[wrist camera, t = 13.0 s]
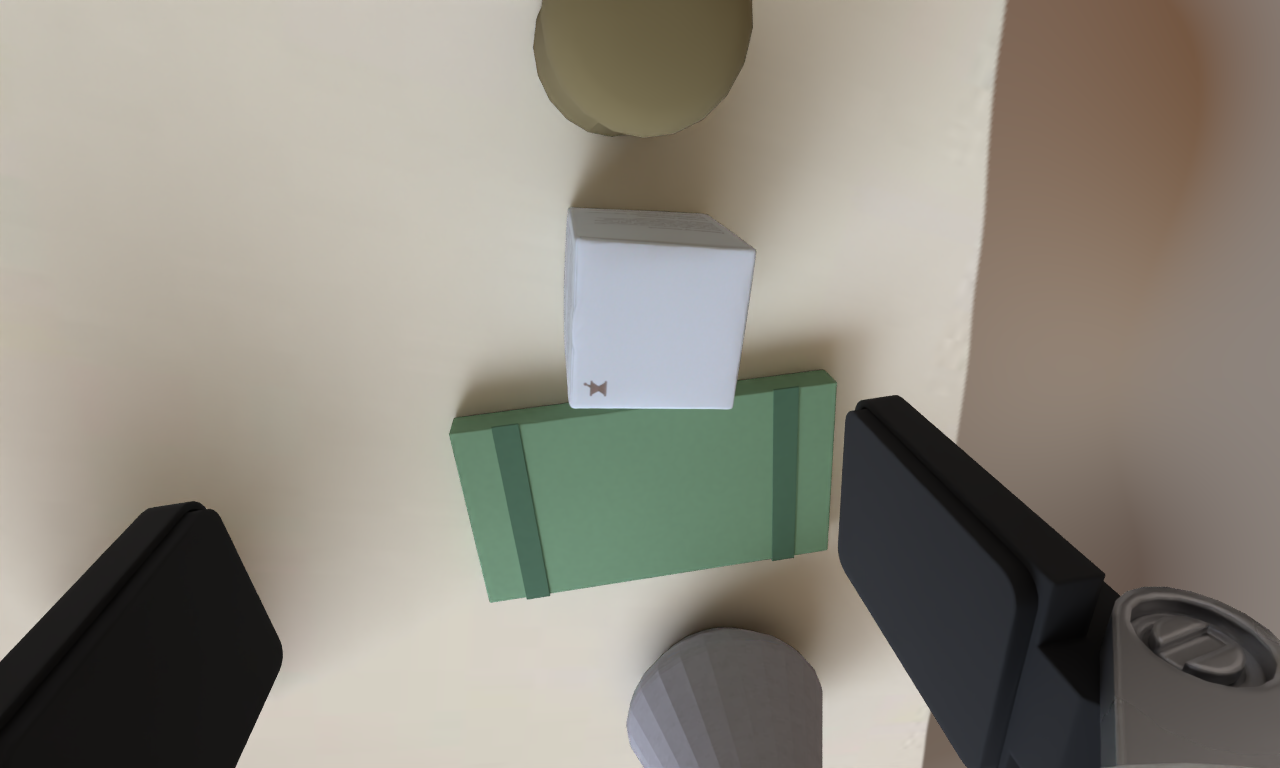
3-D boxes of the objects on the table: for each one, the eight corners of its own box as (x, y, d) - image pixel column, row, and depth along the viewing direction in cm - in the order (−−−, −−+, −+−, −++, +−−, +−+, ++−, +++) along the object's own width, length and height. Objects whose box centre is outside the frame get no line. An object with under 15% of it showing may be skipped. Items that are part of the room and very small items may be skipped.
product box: (692, 344, 29) (734, 415, 23) (561, 340, 28) (565, 413, 22) (709, 211, 27) (761, 246, 20) (566, 201, 26) (571, 236, 19)
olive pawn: (597, -85, 22) (635, -238, 12) (722, 38, 24) (842, -6, 14) (501, 65, 24) (465, 38, 14) (627, 168, 26) (675, 210, 16)
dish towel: (453, 416, 29) (447, 433, 28) (824, 367, 31) (838, 381, 29) (492, 582, 33) (489, 605, 32) (816, 532, 35) (828, 552, 33)
